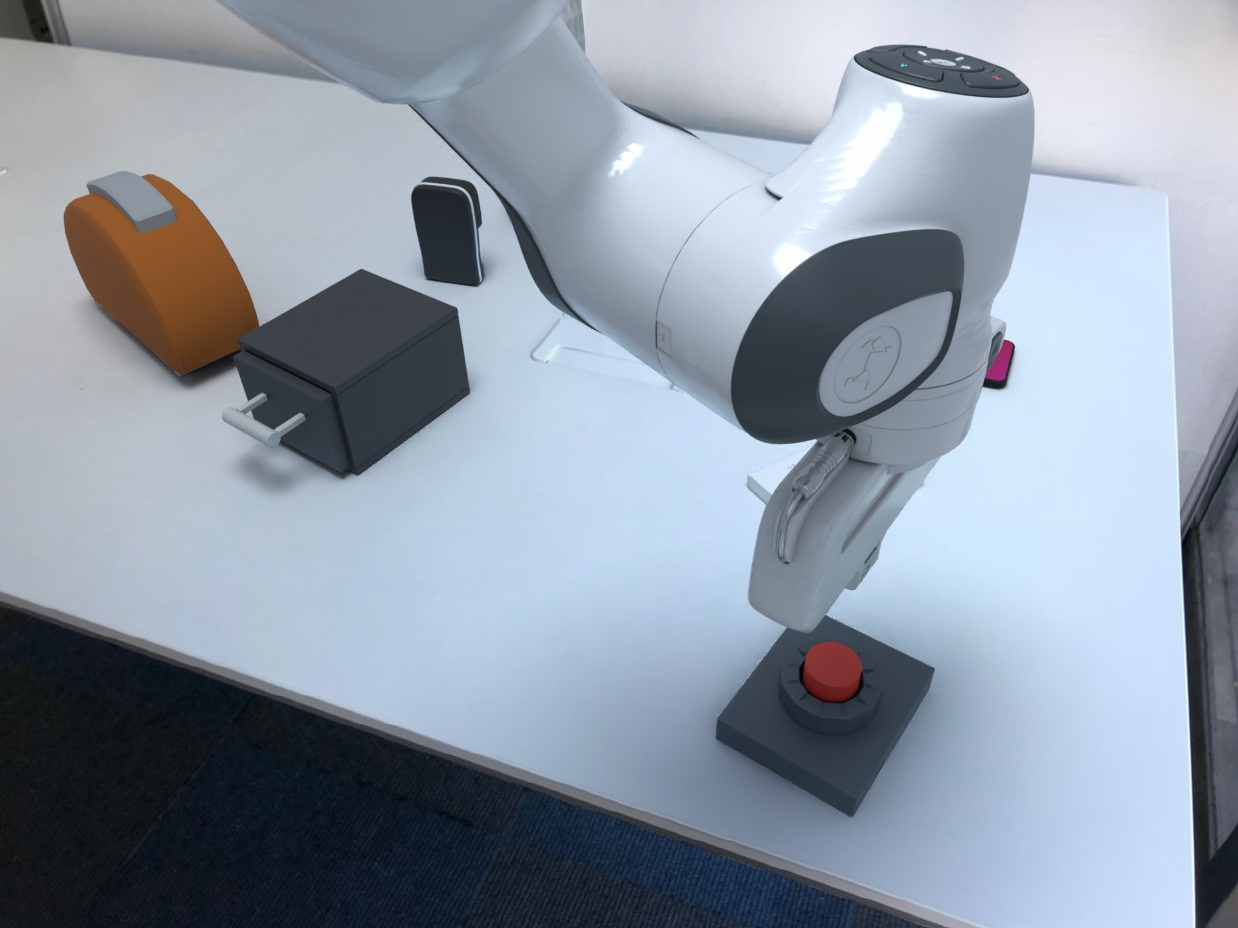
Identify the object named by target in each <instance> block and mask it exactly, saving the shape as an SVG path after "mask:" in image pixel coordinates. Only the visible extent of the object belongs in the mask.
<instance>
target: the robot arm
mask: <svg viewBox="0 0 1238 928" xmlns="http://www.w3.org/2000/svg"><path fill="white" fill-rule="evenodd" d="M214 1H215V2H216V3H217V4H219V5H220V6H221V7H223V8H224V9H225V10H227V11H228V12H229V13H231V14H233V15H234V16H235V17H237V18H238V19H239V20H241V21H242V22H243V23H245V24H246V25H247V26H249V27H250V28H252V29H254V30H255V31H256V32H257V33H259V34H261V35H262V36H263V37H265V38H266V39H268V40H270V41H271V42H273V43H274V44H275V45H277V46H279V47H280V48H281V49H283V50H285V51H287V52H288V53H289V54H290V55H292V56H295V57H296V58H297V59H299V60H300V61H302V62H304V63H305V64H307V65H308V66H310V67H312V68H313V69H314V70H317V71H318V72H320V73H322V74H323V75H325V76H327V77H328V78H330V79H332V80H334V81H336V82H338V83H339V84H341V85H343V86H345V87H347V88H349V89H350V90H352V91H354V92H356V93H358V94H360V95H361V96H363V97H364V98H367V99H369V100H371V101H373V102H375V103H378V104H385V105H407V106H409V107H410V109H412V110H413V112H415V113H416V114H417V116H418V117H420V119H422V120H423V121H424V123H426V125H427V126H428V127H430V128H431V129H432V130H433V132H434V133H436V134H437V135H438V137H440V139H442V141H443V142H444V143H446V145H447V146H448V147H449V148H450V149H452V150H453V152H455V154H456V155H457V156H458V157H459V158H460V159H461V160H462V161H463V162H464V163H465V164H466V165H467V166H468V167H469V168H470V169H471V170H472V171H473V172H474V173H475V174H476V175H477V176H478V177H479V178H480V179H481V180H482V181H483V182H484V183H485V184H486V185H487V186H488V187H489V188H490V190H492V192H493V193H494V194H495V196H496V197H497V198H498V200H499V201H500V204H501V206H502V207H503V208H504V210H505V212H506V214H507V216H508V218H509V221H510V223H511V225H512V228H513V231H514V233H515V237H516V239H517V242H518V245H519V247H520V250H521V254H522V257H523V259H524V262H525V264H526V267H527V269H528V272H529V274H530V276H531V278H532V280H533V282H534V284H535V285H536V287H537V288H538V290H539V292H540V293H541V294H542V295H543V297H544V298H545V299H546V300H547V301H548V302H549V303H550V304H551V305H552V306H553V307H555V308H556V309H558V310H559V311H561V313H563V314H566V315H567V316H568V317H571V318H572V319H574V320H576V321H577V322H579V323H581V324H582V325H584V326H586V327H588V328H589V329H592V330H593V331H595V332H597V333H599V334H601V335H604V336H605V337H607V339H609V340H610V341H612V342H613V343H615V344H616V345H618V346H619V347H621V348H622V349H623V350H624V351H626V352H628V353H629V354H630V355H632V356H633V357H634V358H636V359H637V360H639V361H640V362H641V363H643V364H644V365H646V366H647V367H649V369H652V370H653V371H654V372H655V373H657V374H658V375H660V376H662V377H663V378H664V379H666V380H667V381H668V382H670V383H671V384H673V386H675V387H677V388H678V389H680V390H681V391H683V392H684V393H686V394H687V395H689V396H690V397H692V398H693V400H694V399H695V401H697V402H698V403H700V404H701V405H703V406H704V407H705V408H707V409H709V410H710V411H711V412H713V413H714V414H716V415H717V416H718V417H720V418H721V419H723V420H725V421H726V422H728V423H729V424H730V425H732V426H733V427H734V428H737V429H738V430H741V431H742V432H744V433H745V434H747V435H749V436H750V437H751V438H753V439H755V440H756V441H758V442H761V443H764V444H769V445H793V444H800V443H804V442H805V443H806V442H811V441H813V440H814V441H816V442H814V443H815V444H814V443H813V444H814V445H813V446H812V447H811V448H810V450H809V451H808V452H807V453H806V454H805V455H804V456H803V457H802V459H801V460H800V461H799V462H798V463H797V464H796V465H795V467H794V468H793V469H792V470H791V471H790V472H789V473H788V475H787V476H786V477H785V478H784V479H783V480H782V481H781V482H780V484H779V485H778V486H777V488H776V489H775V491H774V492H773V494H772V495H771V497H770V499H769V501H768V503H767V504H765V507H764V510H763V512H762V515H761V518H760V522H759V525H758V529H757V533H756V537H755V538H756V539H755V543H754V549H753V555H752V559H751V560H752V561H751V566H750V572H749V579H748V586H747V601H748V604H749V605H750V607H751V608H752V609H753V610H755V611H756V612H757V613H759V614H761V615H762V616H763V617H765V618H767V619H769V620H771V621H773V622H774V623H777V624H778V625H781V626H783V627H784V628H790V629H793V630H796V631H799V632H803V633H810V632H812V631H813V630H814V629H815V628H816V627H817V626H818V625H819V623H820V622H821V620H822V619H823V618H824V616H825V615H827V613H828V612H829V611H830V609H831V608H832V607H833V605H835V602H837V600H838V599H839V597H840V596H841V595H842V593H843V592H844V590H845V589H846V590H848V591H852V592H853V591H856V590H857V589H858V587H859V586H860V585H861V583H862V582H863V580H864V579H865V577H867V574H868V573H869V572H870V570H871V569H872V568H873V567H874V565H875V563H876V562H877V561H878V560H879V556H880V552H881V546H882V543H883V541H884V539H885V537H886V534H887V532H888V530H889V529H890V528H891V526H892V525H893V523H894V522H895V521H896V519H898V517H899V516H900V514H901V513H902V511H903V510H904V509H905V507H906V506H907V504H908V503H909V501H910V500H911V499H912V497H913V496H914V495H915V494H916V492H917V491H918V490H919V488H920V487H921V485H922V484H923V483H924V481H925V480H926V478H927V477H928V476H929V474H930V473H931V472H932V470H933V469H934V468H935V466H936V465H937V463H938V462H939V461H940V459H941V458H942V457H943V456H945V455H947V454H949V453H950V452H952V451H954V450H955V449H956V448H957V447H958V446H959V445H961V444H962V443H963V442H964V440H965V439H966V437H967V436H968V434H969V432H970V430H971V426H972V422H973V420H974V419H973V418H974V416H975V411H976V407H977V404H978V402H979V400H980V398H981V394H982V390H983V386H984V385H983V382H984V378H985V376H986V374H987V372H988V370H989V369H990V367H991V365H992V364H993V362H994V361H995V359H996V357H997V355H998V353H999V351H1000V349H1001V346H1002V343H1003V340H1005V335H1006V331H1007V323H1006V321H1005V320H1003V319H1000V318H998V317H995V316H992V315H991V313H992V308H993V304H994V302H995V299H996V297H997V295H998V294H999V293H1000V291H1001V289H1002V288H1003V286H1004V285H1005V283H1006V282H1007V280H1008V277H1009V275H1010V272H1011V270H1012V269H1011V268H1012V267H1013V266H1012V265H1013V261H1014V257H1015V253H1016V250H1017V246H1018V242H1019V239H1020V232H1021V229H1022V226H1023V225H1022V224H1023V219H1024V215H1025V209H1026V204H1027V200H1028V199H1027V198H1028V193H1029V188H1030V180H1031V173H1032V166H1033V159H1034V148H1035V147H1034V146H1035V130H1036V129H1035V126H1036V119H1035V118H1036V116H1035V103H1034V97H1033V94H1032V91H1031V89H1030V88H1029V86H1028V85H1027V84H1025V82H1023V80H1021V79H1020V78H1019V77H1018V76H1016V74H1015V73H1014V72H1012V71H1011V70H1009V69H1007V68H1005V67H1003V66H1001V65H998V64H995V63H993V62H990V61H987V60H984V59H981V58H980V57H979V58H978V57H975V56H973V55H969V54H965V53H961V52H958V51H954V50H950V49H940V48H935V47H928V46H927V45H920V44H919V45H918V44H903V43H902V44H884V45H877V46H873V47H871V48H869V49H866V50H862V51H860V52H858V53H855V54H854V55H853V56H852V57H851V58H850V59H849V61H848V63H847V65H846V67H845V69H844V72H843V74H842V77H841V80H840V83H839V87H838V90H837V93H836V98H835V101H834V104H833V109H832V112H831V115H830V117H829V119H828V120H827V122H826V124H825V125H824V126H823V128H822V129H821V131H820V132H819V133H818V134H817V135H816V137H815V138H814V139H813V140H812V141H811V142H810V144H809V145H808V146H807V147H806V148H805V149H804V150H803V152H802V153H800V154H799V156H797V158H795V159H794V160H793V161H792V162H791V163H789V164H788V165H787V166H786V167H785V168H783V169H782V170H780V171H779V172H777V173H773V172H771V171H769V170H766V169H765V168H762V167H760V166H758V165H756V164H754V163H752V162H750V161H748V160H745V159H743V158H741V157H739V156H737V155H735V154H732V153H731V152H729V151H726V150H724V149H722V148H720V147H717V146H715V145H713V144H711V143H709V142H707V141H705V140H703V139H701V138H700V137H698V136H697V135H695V134H694V133H692V132H691V131H689V130H688V129H686V128H684V127H683V126H681V125H678V124H677V123H674V122H673V121H671V120H669V119H667V118H665V117H663V116H662V115H660V114H658V113H656V112H653V111H652V110H648V109H646V108H643V107H640V106H637V105H634V104H632V103H627V102H625V101H621V100H620V99H618V97H616V96H615V95H614V94H613V92H612V91H611V90H610V88H609V87H608V86H607V84H606V82H605V81H604V80H603V78H602V77H601V75H600V74H599V72H598V71H597V69H596V68H595V65H594V64H593V63H592V62H591V60H590V59H589V57H588V56H587V55H586V52H585V53H584V51H583V50H582V49H581V47H580V46H579V44H578V43H577V41H576V40H575V38H574V37H573V35H572V34H571V32H570V31H569V29H568V28H567V26H566V25H565V23H564V22H563V20H562V19H561V17H560V16H559V15H560V13H561V12H562V10H563V9H564V8H565V6H566V5H567V4H568V3H569V1H570V0H214Z"/></svg>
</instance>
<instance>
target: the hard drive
mask: <svg viewBox="0 0 1238 928" xmlns="http://www.w3.org/2000/svg"><path fill="white" fill-rule="evenodd" d="M815 443H816V442H814V443H811V444H809V445H807V446H806V447H804V448H801V449H799V450H797V451H795V452H793V453H791V454H788V455H787V456H784V457H783V458H781V459H778V460H776V461H773V462H772V463H769V464H768V465H766V466H763V467H762V468H759V469H757V470H754V471H753V472H751V473H748V474H747V475H746V486H747V487H748V488H749V490H751V492H752V493H754V494H755V495H756V496H757V497H758V498H759V499H760V500H761V501H762V502H764V504H765V505H767V503H768V501H769V499H770V497H771V495H772V494H773V492H774V491H775V489H776V488H777V486H778V485H779V484H780V482H781V481H782V480H783V479H784V478H785V477H786V476H787V475H788V473H789V472H790V471H791V470H792V469H793V468H794V467H795V465H796V464H797V463H798V462H799V461H800V460H801V459H802V457H803V456H804V455H805V454H806V453H807V452H808V451H809V450H810V448H811V447H812V446H813V445H814V444H815Z"/></svg>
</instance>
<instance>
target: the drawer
mask: <svg viewBox="0 0 1238 928" xmlns="http://www.w3.org/2000/svg"><path fill="white" fill-rule="evenodd" d="M232 358H233V361H234V364H235V367H236V370H237V373H238V377H239V378H240V382H241V384H242V388H243V391H244V394H245V397H246V399H247V401H246V402H245V403H243V404H242V405H240V406H238V407H237V408H235V407H231V406H230V407H227V408H226V409H224V410H223V411H222V414H221V420H222V421H223V422H224V423H226V424H227V425H230V426H231V427H233V428H234V429H236V430H237V431H240V432H242V433H243V434H245V435H247V436H248V437H251V438H253V439H254V440H256V441H257V442H260V443H261V444H263V445H265V446H266V447H269V448H275V447H277V446H278V445H279V444H280V443H281V441H282V442H284V443H286V444H287V445H289V446H291V447H293V448H294V449H297V450H298V451H300V452H302V453H304V454H306V455H307V456H309V457H311V458H313V459H314V460H316V461H319V462H320V463H322V464H325V465H326V466H328V467H329V468H331V469H333V470H335V471H336V472H338V473H343V472H344V471H346V470H347V468H348V467H349V466H351V464H350V460H349V457H348V453H347V449H346V445H345V442H344V438H343V434H342V430H341V427H340V423H339V419H338V415H337V411H336V408H335V404H334V400H333V396H332V394H331V392H330V391H328V390H326V389H324V388H322V387H320V386H318V385H316V384H314V383H312V382H310V381H308V380H306V379H304V378H302V377H300V376H298V375H296V374H294V373H292V372H289V371H287V370H285V369H283V368H281V367H279V366H277V365H275V364H273V363H271V362H269V361H267V360H266V361H264V360H262V359H260V358H258V357H256V356H254V355H252V354H250V353H248V352H246V351H244V350H243V351H242V352H241V351H240V352H239V353H237V354H235V355H233V356H232ZM249 412H251V414H252V417H251V416H249V415H247V414H248V413H249Z"/></svg>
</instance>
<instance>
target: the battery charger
mask: <svg viewBox="0 0 1238 928" xmlns="http://www.w3.org/2000/svg"><path fill="white" fill-rule="evenodd" d="M410 203H411V211H412V217H413V222H414V228H415V232H416V236H417V237H416V238H417V242H418V246H419V250H420V254H421V260H422V265H423V272H424V273H423V274H424V277H425V278H426V279H430V280H435V281H442V282H446V283H447V282H449V283H453V284H462V285H475V286H476V285H478V284H481V282H482V281H483V278H484V276H485V267H484V264H483V260H482V256H481V245H480V233H479V232H480V231H479V229H480V227H481V226H482V225H483V217H482V209H481V203H480V197H479V193H478V189H477V188H476V186H475V184H474V183H472V182H470V181H469V180H466V179H461V178H453V177H445V176H444V177H443V176H435V175H434V176H433V175H432V176H426V177H425V178H423V179H422V180H421V181H420V182H418V183H417V184H416V185H415V186H414V187H413V189H412V191H411V194H410Z"/></svg>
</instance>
